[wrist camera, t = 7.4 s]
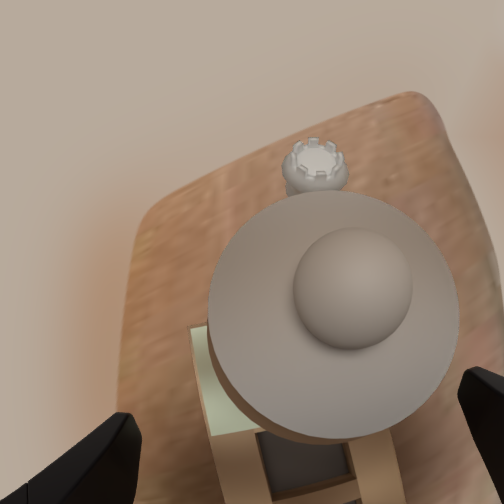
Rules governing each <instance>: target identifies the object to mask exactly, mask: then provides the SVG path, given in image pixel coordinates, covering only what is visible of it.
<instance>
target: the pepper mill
mask: <svg viewBox="0 0 504 504" xmlns="http://www.w3.org/2000/svg"><path fill="white" fill-rule="evenodd" d="M458 332H459V303H458V296H457V291H456V287H455V283H454V280H453V277H452V274H451V271H450V269H449V267H448V265H447V263H446V261H445V259H444V257H443V255H442V253H441V252H440V250H439V249H438V247H437V246H436V244H435V243H434V241H433V240H432V239H431V238H430V237H429V235H428V234H427V233H426V232H425V231H424V230H423V229H422V228H421V227H420V226H419V225H418V224H417V223H416V222H415V221H413V220H412V219H411V218H409V217H408V216H407V215H405V214H404V213H403V212H401V211H399V210H398V209H396V208H394V207H393V206H391V205H389V204H387V203H385V202H382V201H380V200H378V199H375V198H372V197H369V196H366V195H363V194H358V193H353V192H347V191H336V190H326V191H314V192H306V193H302V194H298V195H294V196H291V197H288V198H285V199H283V200H280V201H278V202H276V203H274V204H272V205H270V206H268V207H266V208H265V209H263V210H262V211H260V212H259V213H257V214H256V215H255V216H253V217H252V218H251V219H250V220H249V221H247V222H246V223H245V224H244V225H243V226H242V227H241V228H240V229H239V230H238V232H237V233H236V234H235V235H234V236H233V237H232V239H231V240H230V242H229V243H228V245H227V246H226V248H225V249H224V251H223V252H222V255H221V257H220V259H219V261H218V263H217V265H216V268H215V271H214V274H213V277H212V281H211V285H210V291H209V297H208V319H207V342H208V350H209V355H210V358H211V362H212V366H213V369H214V371H215V373H216V376H217V378H218V380H219V383H220V384H221V386H222V388H223V389H224V391H225V392H226V394H227V396H228V397H229V398H230V400H231V401H232V402H233V403H234V404H235V406H236V407H237V408H238V409H239V410H240V411H241V412H242V413H243V414H244V415H245V416H247V417H248V418H249V419H250V420H251V421H253V422H254V423H256V424H257V425H258V426H260V427H261V428H263V429H265V430H266V431H269V432H271V433H273V434H275V435H277V436H279V437H282V438H285V439H288V440H291V441H295V442H300V443H306V444H312V445H331V444H339V443H346V442H350V441H354V440H357V439H361V438H363V437H366V436H368V435H370V434H372V433H375V432H379V431H382V430H384V429H386V428H388V427H390V426H393V425H395V424H397V423H399V422H400V421H402V420H403V419H405V418H406V417H408V416H409V415H411V414H412V413H413V412H415V411H416V410H417V409H418V408H419V407H420V406H421V405H422V404H423V403H425V402H426V401H427V399H428V398H429V397H430V396H431V395H432V393H433V392H434V391H435V390H436V389H437V387H438V385H439V384H440V382H441V381H442V379H443V377H444V376H445V374H446V372H447V370H448V368H449V365H450V363H451V361H452V358H453V355H454V351H455V348H456V344H457V339H458Z"/></svg>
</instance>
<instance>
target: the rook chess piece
mask: <svg viewBox="0 0 504 504" xmlns="http://www.w3.org/2000/svg"><path fill="white" fill-rule="evenodd" d="M318 138H319V137H308V144H307V145H304V146H303V144H304V143H302V142H301V141H300V140H299V141H298V142H297V143H295V144H294V145H293V151H292V152H290V153H289V154H288V155H287V156H286V157H285V159H284V161H283V163H282V165H281V166H282V175H283V177H284V178H285V180H286V181H287V183H286V185H285V186H286V194H287V196H288V197H291V196H294V195H298V194H302V193H306V192H314V191H326V190H336V191H340V190H341V189H342V188H343V187H344V186H345V185H346V184H347V180H348V176H349V172H348V168H347V164H346V163H345V162H344V160H345V159H344V155H343V152H337V153H336V146H337V145H336V144H334V143H333V142H331V141H329V140H328V141H327V143H326V146H323V145H319V144H318Z"/></svg>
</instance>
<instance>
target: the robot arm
mask: <svg viewBox="0 0 504 504" xmlns="http://www.w3.org/2000/svg"><path fill="white" fill-rule="evenodd" d="M457 395H458V400H459V403H460V405H461V408H462V410H463V413H464V416H465V418H466V421H467V424H468V426H469V429H470V432H471V434H472V437H473V440H474V442H475V444H476V446H477V448H478V450H479V452H480V454H481V457H482V459H483V461H484V463H485V465H486V467H487V470H488V472H489V474H490V476H491V479H492V481H493V483H494V486H495V488H496V490H497V493H498V495H499V498H500V500H501V503H502V504H504V377H503V376H500V375H498V374H495V373H493V372H491V371H488V370H486V369H483V368H481V367H478V366H476V367H472V368H469V369H467V370H465V372H464V374H463V376H462V380H461V383H460V386H459V389H458V393H457ZM141 444H142V436H141V432H140V430H139V428H138V426H137V424H136V422H135V419H134V417H133V415H132V414H130V413H124V412H116V413H115V414H113V415H112V416H111V417H110V418H108V419H107V420H106V421H105V422H103V423H102V424H101V425H100V426H98V427H97V428H96V429H95V430H93V431H92V432H91V433H90V434H88V435H87V436H86V437H85V438H83V439H82V440H81V441H80V442H78V443H77V444H76V445H75V446H73V447H72V448H71V449H69V450H68V451H67V452H66V453H64V454H63V455H62V456H61V457H59V458H58V459H57V460H55V461H54V462H53V463H51V464H50V465H49V466H47V467H46V468H45V469H44V470H42V471H41V472H40V473H38V474H37V475H36V476H34V477H33V478H32V479H30V480H29V481H28V483H25V484H23V485H22V486H21V487H20V488H18V489H17V490H15V491H14V492H12V493H11V494H10V495H8V496H7V497H5V498H4V499H2V500H0V504H133V502H134V498H135V493H136V488H137V481H138V471H139V461H140V453H141Z"/></svg>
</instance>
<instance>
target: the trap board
mask: <svg viewBox="0 0 504 504" xmlns="http://www.w3.org/2000/svg"><path fill="white" fill-rule="evenodd" d="M187 329H188V336H189V342H190V347H191V353H192V359H193V364H194V370H195V375H196V380H197V385H198V390H199V395H200V400H201V405H202V410H203V415H204V419H205V424H206V428H207V433H208V437H209V442H210V446H211V450H212V454H213V458H214V462H215V466H216V470H217V474H218V478H219V482H220V486H221V490H222V493H223V497H224V501H225V504H406V501H405V495H404V490H403V485H402V480H401V476H400V471H399V466H398V462H397V457H396V453H395V449H394V444H393V440H392V436H391V432H390V428H389V427H388V428H386V429H384V430H382V431H379V432H375V433H372V434H370V435H368V436H366V437H363V438H361V439H357V440H354V441H350V442H346V443H339V444H331V445H312V444H306V443H300V442H295V441H291V440H288V439H285V438H282V437H279V436H277V435H275V434H273V433H271V432H269V431H266V430H265V429H263V428H261V427H260V426H258V425H257V424H256V423H254V422H253V421H251V420H250V419H249V418H248V417H247V416H245V415H244V414H243V413H242V412H241V411H240V410H239V409H238V408H237V407H236V406H235V404H234V403H233V402H232V401H231V400H230V398H229V397H228V396H227V394H226V392H225V391H224V389H223V388H222V386H221V384H220V383H219V380H218V378H217V376H216V373H215V371H214V369H213V366H212V362H211V358H210V355H209V350H208V342H207V322H205V323H201V324H196V325H191V326H187Z"/></svg>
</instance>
